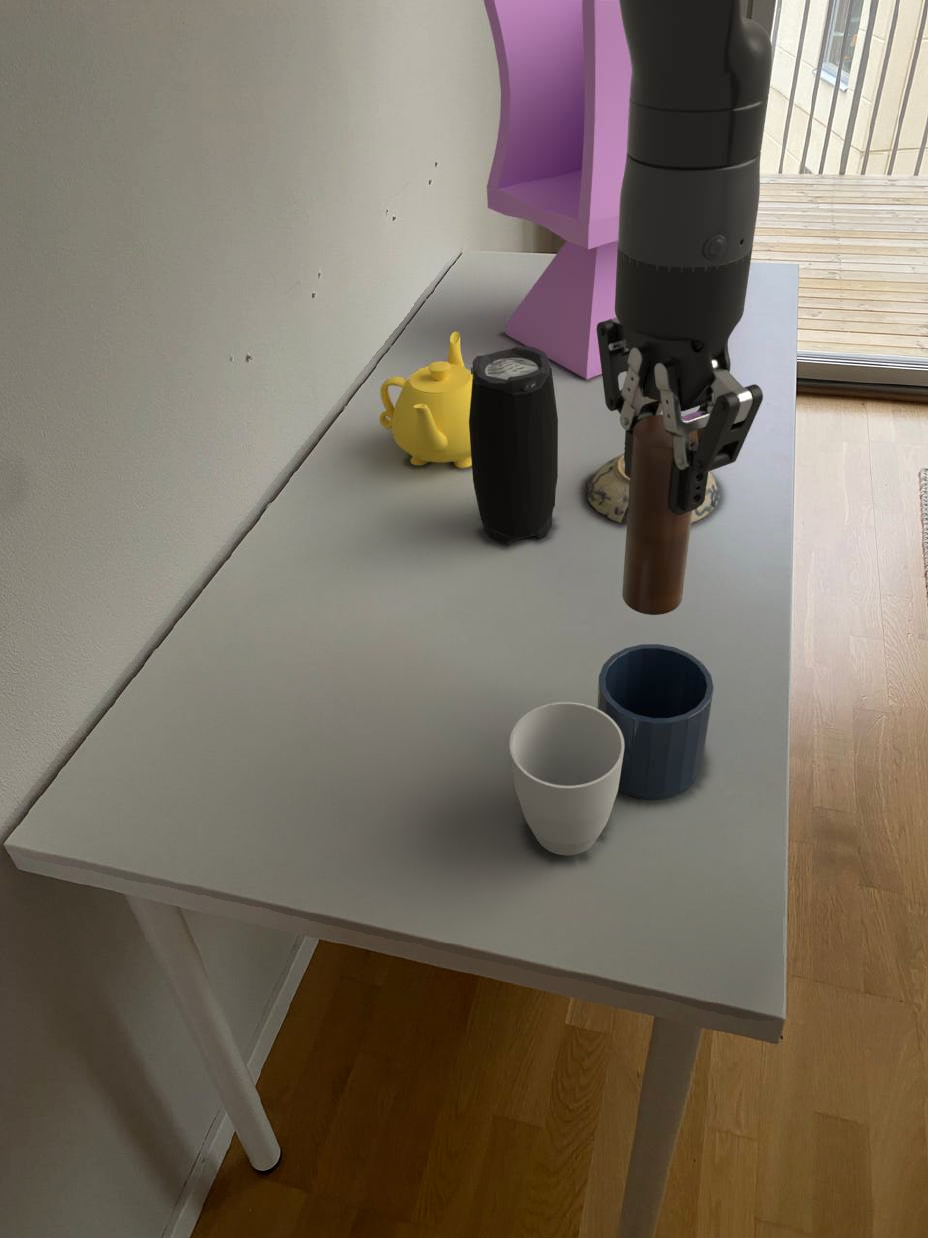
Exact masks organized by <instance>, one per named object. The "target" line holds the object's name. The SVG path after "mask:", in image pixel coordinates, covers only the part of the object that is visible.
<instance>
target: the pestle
mask: <svg viewBox="0 0 928 1238" xmlns="http://www.w3.org/2000/svg"><path fill="white" fill-rule="evenodd" d="M697 444H698V434H697V430H694V431H692V432H691V433H690V446H691V447H692V446H695V445H697ZM673 464H675V461H674V453H673V443H672V435H671V434H670V433H667V432H666V431H665V429H664V422H663V414H660V415H654V416H650V417H647V418H644V419H642V420H640V421H639V422H638V423H637V424H636V425H635V426H634V429H633V439H632V454H631V469H630V485H629V500H628V506H627V516H626V517H627V518H626V532H625V533H626V534H625V547H624V562H623V578H622V591H621V592H622V593H621V595H622V600H623V601H624V603H625V604H626V605H627V607H629V608H630V609H631V610H633V611H635V612H637V613H640V614H643V615H649V616H660V615H665V614H669V613H671V612H673V611H675V610H676V609H678V608H679V606H680V605H681V603H682V600H683V594H684V588H685V587H684V586H685V577H686V570H687V568H686V567H687V561H688V560H687V559H688V553H689V543H690V536H691V528H692V523H691V520H692V512H693V510H692V511H690V512H687V513H684V514H682V515H676V514H675V513H673V512H672V511H671V510H670V509H669V497H670V487H671V477H672V467H673Z"/></svg>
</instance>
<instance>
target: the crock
mask: <svg viewBox="0 0 928 1238" xmlns="http://www.w3.org/2000/svg"><path fill="white" fill-rule="evenodd" d="M711 674H712V673H710V672H709V670H708V668H707V667H706V665H705V664H704V663H703V662H702V661H701V660H699V659H698V658H697V657H695V655H693V654H691V653H689V652H687V651H685V650H683V649H680V648H678V647H675V646H670V645H665V644H661V643H644V644H643V643H642V644H637V645H633V646H629V647H626V648H622V649H621V650H619V651H617V652H615V653H614V654H612V655H610V657H609V658H608V659H607V660H606V661H605V662H604V664H602V667H601V670H600V672H599V674H598V684H597V685H598V687H597V688H598V689H597V691H598V692H597V709H599V710H600V711H602V712H604V713H605V714H607V715H608V716H609V717H610V718H612V719H613V720H614V722H615V723H616V724H617V725H618V727H619V728H620V730H621V732H622V735H623V738H624V755H623V761H622V768H621V774H620V780H619V787H618V791H619V792H620V793H622V794H624V795H627V796H630V797H633V798H638V799H641V800H650V801H651V800H653V801H655V800H664V799H670V798H674V797H676V796H678V795H680V794H682V793H684V792H686V791H688V789H689V788H691V787H692V786H693V785H694V784H695V783H696V781H697V780H698V778H699V776H700V773H701V770H702V764H703V762H704V761H703V760H704V754H705V748H706V741H707V735H708V728H709V721H710V714H711V709H712V702H713V695H714V689H715V687H714V683H713V678H712V675H711Z"/></svg>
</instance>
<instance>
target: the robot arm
mask: <svg viewBox="0 0 928 1238" xmlns="http://www.w3.org/2000/svg"><path fill="white" fill-rule="evenodd" d="M619 3H620V9H621V16H622V23H623V27H624V32H625V37H626V41H627V46H628V50H629V55H630V60H631V67H632V72H631V83H630V98H629V116H628V136H627V155H626V164H625V171H624V176H623V181H622V187H621V194H620V207H619V229H618V248H617V269H616V290H615V314H616V317H615V318H612V319H608V320H606V321H603V322H600V323H598V324H597V338H598V346H599V354H600V362H601V370H602V374H601V376H602V385H603V394H604V400H605V401H604V402H605V405H606V408H607V409H608V410H609V411H610V412H614V411H617V412H618V413H619V422H620V425H621V427H622V429H623V430H625V434H624V452H623V454H624V462H625V475H626V476H627V477H628V478H630V469H631V454H632V439H633V429H634V426H635V425H636V424H637V423H638V422H639V421H640V420H642V419H644V418H647V417H650V416H654V415H663V422H664V429H665V431H666V432H667V433H670V434H671V435H672V443H673V453H674V461H675V464H673V467H672V477H671V487H670V497H669V509H670V510H671V511H672V512H673V513H675V514H676V515H682V514H684V513H687V512H690V511H692V510H695V509H697V508H698V507H699V506H701V505H702V504H703V502H704V501H705V495H706V493H705V492H706V487H707V479H708V472H711V471H714V470H717V469H720V468H723V467H726V466H728V465H730V464H731V465H732V464H733V463H735V462H736V461H737V460H738V457H739V455H740V453H741V450H742V448H743V445H744V443H745V441H746V439H747V436H748V434H749V432H750V429H751V427H752V425H753V423H754V421H755V419H756V416H757V414H758V412H759V410H760V407H761V405H762V403H763V400H764V393H763V389H761V387H760V385H758V384H755V383H753V384H750V385H747V386H743V385H742V384H741V383H740V382H739V381H738V380H737V379H736V378H735V377H734V376H733V374H731V368H732V367H731V358H730V353H729V339H730V336H731V335H732V333H733V331H734V330H735V328H736V327H737V326H738V324H739V322H740V321H741V319H742V318H743V315H744V311H745V305H746V298H747V292H748V291H747V290H748V283H749V278H750V277H749V276H750V270H751V269H750V268H751V262H752V255H753V249H754V248H753V247H754V240H755V232H756V225H757V218H758V213H759V212H758V211H759V205H760V193H761V192H760V191H761V170H760V169H761V156H762V148H763V139H764V134H765V132H764V131H765V125H766V118H767V110H768V102H769V95H770V88H771V79H772V69H773V46H772V41H771V38H770V35H769V33H768V32H767V30H766V29H765V28H764V26H762V25H761V24H760V23H759V22H756V21H755V20H753V19H751V18H747V17H744V16H743V14H742V0H619ZM625 372H626V376H625V378H624V381H623V386H622V389H620V384H619V376H620V374H623V373H625ZM694 408H695V409H696V408H698V409H697V410H696V411H693V412H691V413H688V414H685V415H682V412H686V411H689V410H692V409H694ZM661 413H662V414H661ZM694 430H697V434H698V444H697V445H695V446H692V447H691V446H690V433H691V432H692V431H694Z"/></svg>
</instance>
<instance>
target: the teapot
mask: <svg viewBox="0 0 928 1238" xmlns="http://www.w3.org/2000/svg"><path fill="white" fill-rule="evenodd" d="M448 342H449V343H448V351H447V359H446V361H442V360H441V361H440V360H439V361H434V362H432V363H430V364H429V365H426V366H424V367H421V368H419V369H417V370H416V371H414V372H413V373H412V374H411V375H410V376H409V377H408V379H406V378H404V377H401V376H392V377H389V378H387V379H385V381H383V383H381V386H380V388H379V390H380V400H381V402H382V404H383V407H384V411H382V412H381V413H380V415H379V423H380V425H381V427H384V428H386V429H388V430H391V431H392V437H393V439H394V441H395V443H396V444H397V445H398V446H399V447H400V448H401V449H402V450H403V451H404V452H405V453H408V454H409V455H410V456H412V457H411V458H410V464H412V465H414V466H423V465H426V464H428V463H430V462H431V463H451V462H453V463H454V466H455V467H456V468H459V469H466V468H469V467H472V460H471V445H470V431H469V414H470V402H471V391H472V379H473V374H471V370H470V369H468V368H466V367H465V364H464V360H463V357H462V352H461V351H462V350H461V334H460V332H459V331H454V332H452V333H451V334H450V337H449V341H448ZM390 386H396V387H400V388H402V389H401V391H400V393H399V395H398V397H397V400H396V402H395V405H394V404H393V402H392V399H391V396H390V393H389V387H390ZM387 417H388V418H387Z"/></svg>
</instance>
